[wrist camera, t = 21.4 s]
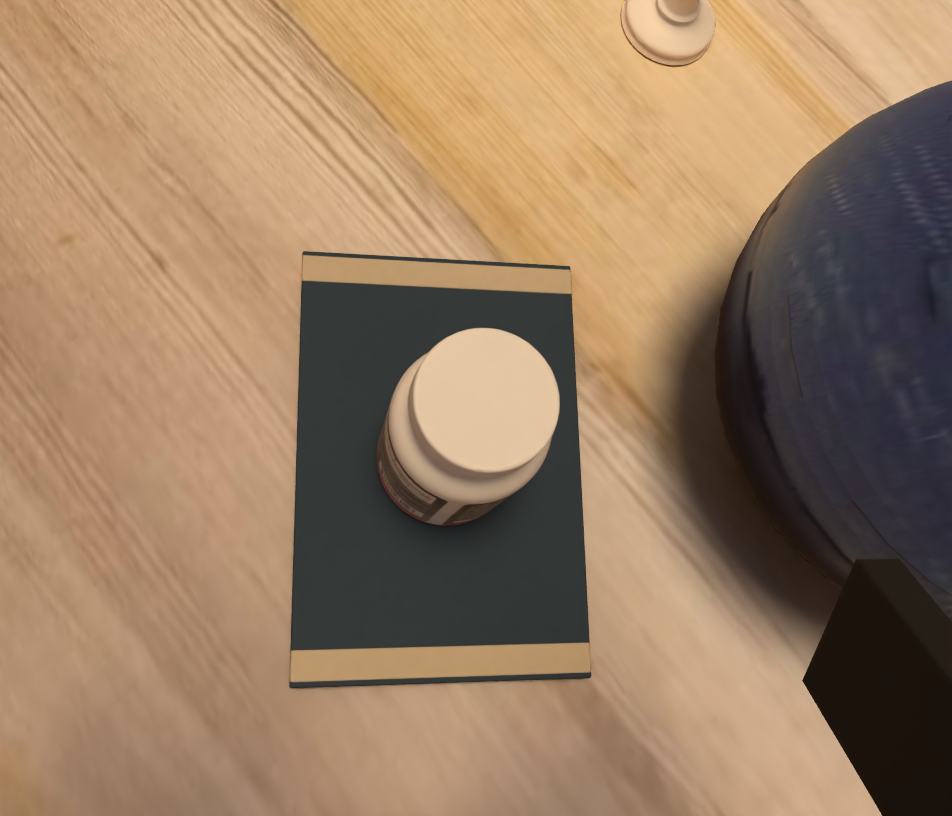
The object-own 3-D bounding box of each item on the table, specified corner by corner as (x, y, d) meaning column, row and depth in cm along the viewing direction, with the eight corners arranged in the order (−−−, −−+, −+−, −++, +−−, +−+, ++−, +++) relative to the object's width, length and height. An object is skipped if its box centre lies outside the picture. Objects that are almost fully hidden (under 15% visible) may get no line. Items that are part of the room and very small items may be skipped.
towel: (587, 676, 36) (592, 677, 35) (290, 687, 33) (289, 688, 33) (566, 270, 40) (570, 265, 39) (302, 256, 38) (302, 250, 37)
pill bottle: (514, 402, 37) (584, 325, 28) (504, 534, 36) (574, 500, 26) (382, 385, 36) (407, 299, 27) (366, 519, 35) (387, 478, 25)
